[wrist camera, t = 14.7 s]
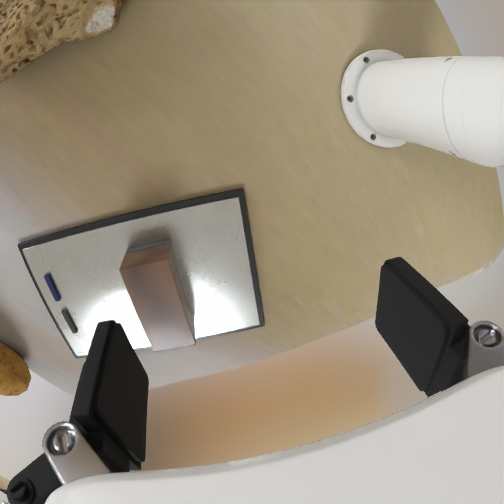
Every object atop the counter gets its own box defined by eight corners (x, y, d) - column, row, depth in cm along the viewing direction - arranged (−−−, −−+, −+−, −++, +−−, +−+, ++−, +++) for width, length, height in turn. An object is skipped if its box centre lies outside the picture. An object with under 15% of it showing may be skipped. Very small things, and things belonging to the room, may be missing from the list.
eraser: (170, 238, 36) (168, 259, 31) (194, 319, 41) (196, 344, 37) (126, 248, 35) (118, 269, 31) (155, 326, 41) (153, 351, 36)
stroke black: (66, 309, 37) (65, 311, 37) (78, 331, 39) (77, 333, 38) (61, 309, 37) (60, 312, 37) (73, 331, 39) (72, 334, 38)
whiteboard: (242, 188, 35) (243, 190, 35) (264, 323, 45) (265, 327, 44) (18, 243, 32) (16, 246, 32) (76, 356, 42) (75, 359, 41)
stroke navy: (49, 273, 34) (47, 275, 34) (61, 298, 36) (60, 300, 36) (44, 274, 34) (43, 276, 34) (56, 299, 36) (55, 301, 36)
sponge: (130, -35, 21) (-23, -4, 14) (131, -54, 16) (-50, -9, 8) (118, 63, 29) (-27, 91, 22) (116, 66, 23) (-56, 104, 16)
